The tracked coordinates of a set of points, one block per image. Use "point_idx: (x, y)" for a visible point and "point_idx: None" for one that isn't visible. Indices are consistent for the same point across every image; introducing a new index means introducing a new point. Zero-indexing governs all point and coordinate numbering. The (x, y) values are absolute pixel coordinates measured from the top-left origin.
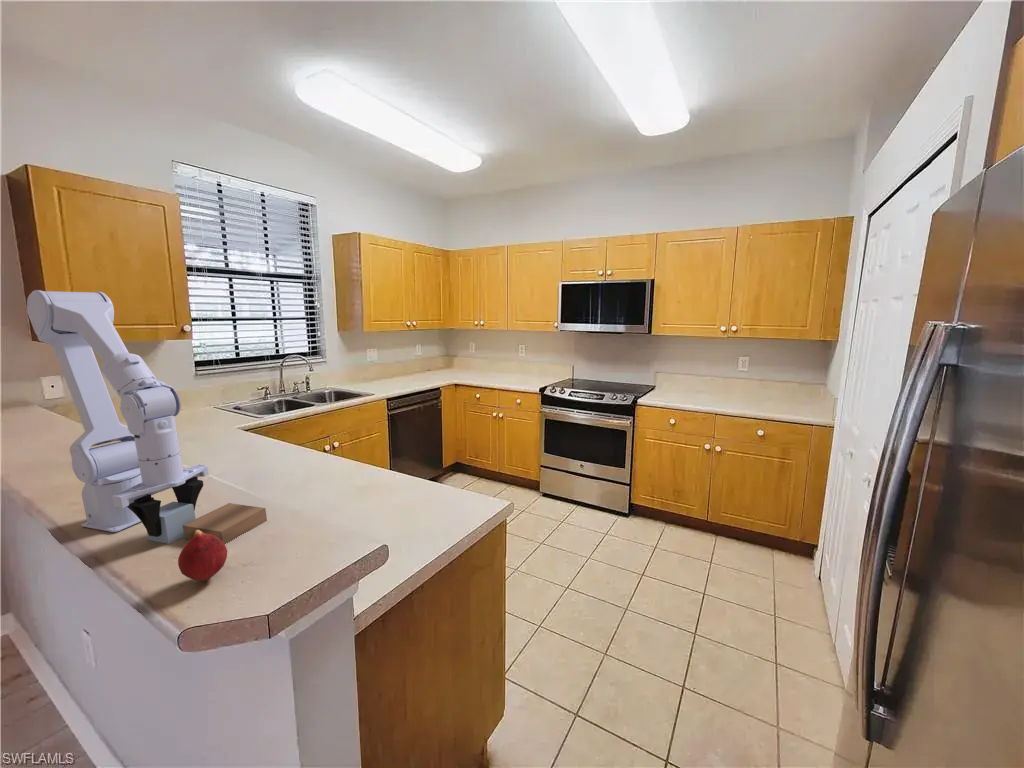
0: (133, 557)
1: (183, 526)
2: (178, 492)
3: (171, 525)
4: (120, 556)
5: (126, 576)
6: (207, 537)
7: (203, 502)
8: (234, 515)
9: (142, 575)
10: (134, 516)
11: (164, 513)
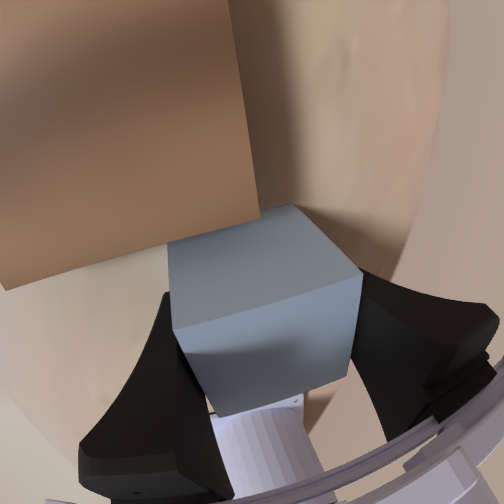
0: (381, 212)
1: (257, 211)
2: (213, 451)
3: (302, 246)
4: (382, 253)
5: (440, 112)
6: None
7: (91, 406)
8: (32, 71)
9: (428, 69)
10: (257, 422)
11: (329, 322)
